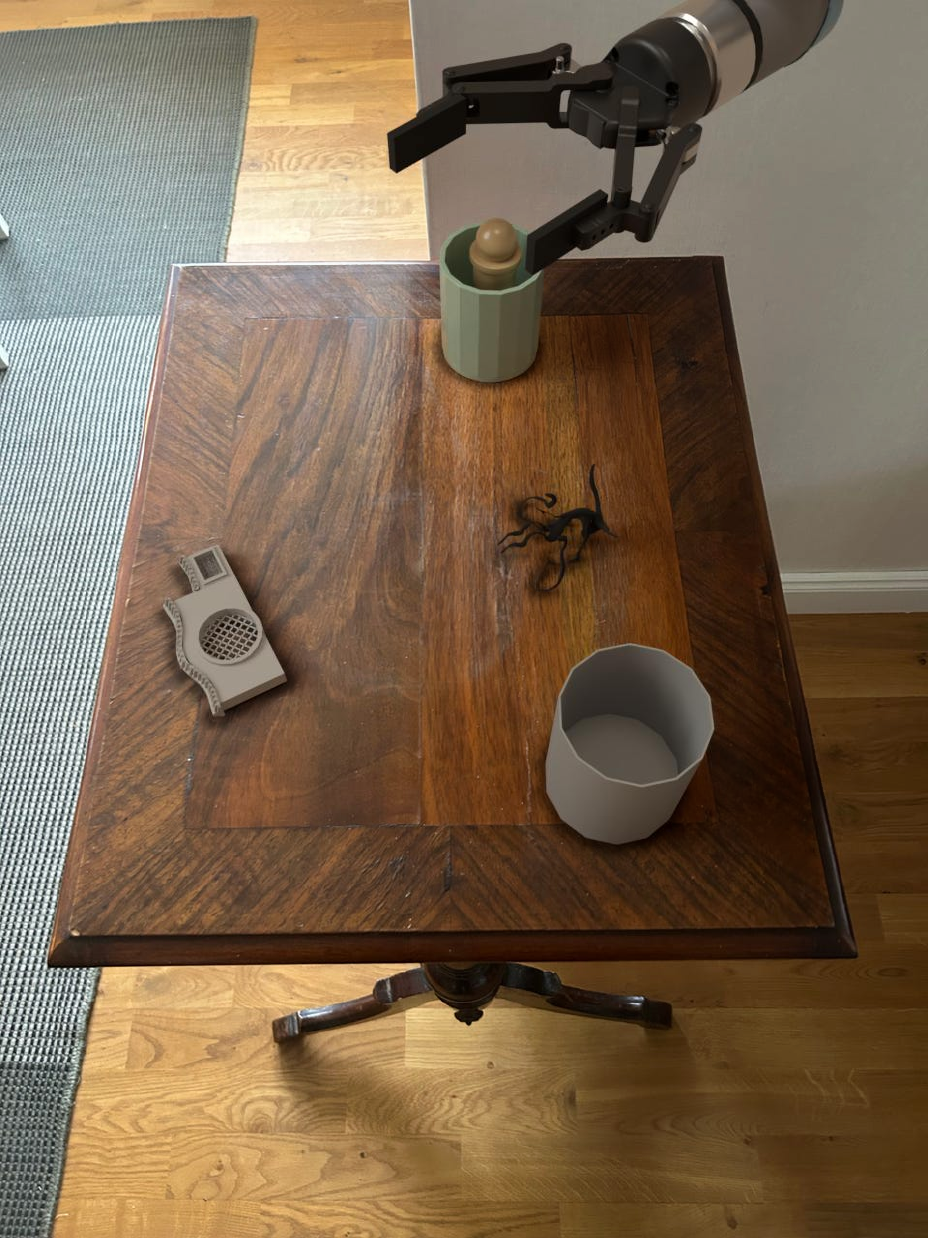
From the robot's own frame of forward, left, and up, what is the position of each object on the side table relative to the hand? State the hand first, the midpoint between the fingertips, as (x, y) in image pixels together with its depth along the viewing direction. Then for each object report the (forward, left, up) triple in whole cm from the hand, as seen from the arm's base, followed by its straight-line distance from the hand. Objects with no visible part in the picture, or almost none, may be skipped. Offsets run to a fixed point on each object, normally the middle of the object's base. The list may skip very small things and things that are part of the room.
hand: (457, 202), depth 66 cm
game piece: (-2, -3, -15) cm, 15 cm away
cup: (-11, +34, -16) cm, 39 cm away
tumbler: (-2, -2, -15) cm, 16 cm away
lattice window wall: (+12, +23, -14) cm, 30 cm away
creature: (-7, +16, -16) cm, 24 cm away
